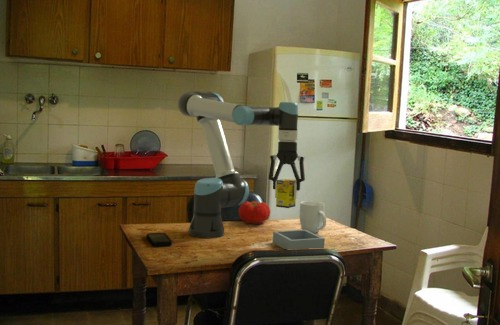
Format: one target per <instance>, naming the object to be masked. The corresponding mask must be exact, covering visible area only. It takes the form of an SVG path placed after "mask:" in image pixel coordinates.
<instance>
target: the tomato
mask: <svg viewBox="0 0 500 325" xmlns="http://www.w3.org/2000/svg"><path fill="white" fill-rule="evenodd" d="M238 215H239V218H240V219H241V220H242V221H243V222H245V223H246V224H255V225H259V224H261V223H263V222H265V221H267V220H268V219H269V217H270V215H271V210H270V206H269V205H268V204H267V203H265V202H264V201H262V202H261V201H260V202H259V201H257V200H253V201H251V202H250V201H248V200H246V201H245V202H244V203H243V204H241V205H239V208H238Z"/></svg>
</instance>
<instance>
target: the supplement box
mask: <svg viewBox="0 0 500 325" xmlns="http://www.w3.org/2000/svg"><path fill="white" fill-rule="evenodd" d="M295 182H296V179H290V178H283V179H277V192H276V198H275V200H276V201H275V207H276V208H284V209H290V208H294V207H296V201H297V199H294V184H295Z"/></svg>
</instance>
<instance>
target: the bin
mask: <svg viewBox="0 0 500 325" xmlns="http://www.w3.org/2000/svg"><path fill="white" fill-rule="evenodd" d="M325 242H326V241H325V237H322V236H320V235H318V234H317V233H312V232H309V231H307V230H302V229H295V230H294V229H293V230H276V231H273V232H272V243H273V244H274V245H277V246H278V247H280V248H282V249H283V250H285V249H309V248H324V249H325Z"/></svg>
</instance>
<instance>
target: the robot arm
mask: <svg viewBox="0 0 500 325" xmlns="http://www.w3.org/2000/svg"><path fill="white" fill-rule="evenodd" d="M298 106H299V105H298V103H297V102H294V101H293V102H292V101H291V102H289V101H281V102H279V105H278V106H277V107H276V106H275V107H274V106H252V105H250V106H249V105H243V104H237V103H233V102H226V101H224V98H223V97H222V96H221V95H220V94H218V93H216V92H212V91H197V90H187V91H185V92H183V93H182V94H181V95H179V98H178V99H177V108H178V111H179V112H180V114H182V115H184V116H185V117H189V118H196V121H197V123H198V125H199V126H201V127H202V130H203V133H204V137H205V140H206V144H207V148H208V152H209V155H210V158H211V162H212V165H213V169H214V174H215V177H205V178H201V179H198V180H197V181H196V182H195V185H194V190H193V193H194V194H193V196H194V197H193V215H192V216H193V217H192V219H191V221H190V224H189V227H188V234H189V235H191V236H192V237H197V238H203V239H205V238H208V239H209V238H210V239H212V238H214V239H215V238H220V237H223V236H224V235H225V226H224V222H223V219H222V209H223V208H230V207H237V206H241V205H242V204H243V203H244V202H246V201H248V197H249V195H250V188H249V184H248V182H247V181H246V180H245V179H243V178H241V176H240V175H241V174H240V172H238V171H236V170H235V166H234V162H233V160H232V157H231V153H230V150H229V146H228V142H227V139H226V136H225V132H224V129H223V126H222V122H221V121H225V122H229V123H234V124H236V125H238V126H244V127H246V126H262V127H263V126H264V127H265V126H269V127H270V126H271V127H272V126H275V127H276V126H278V132H277V133H278V136H277V138H278V142H277V144H278V145H277V152H276V154H271V155H270V156H269V159H270V165H269V166H270V167H269V171H268V180H269V181H272V189H273V190H274V191H275V192H274V198H275V199H276V192H277V180H279V179H278V178H279V176H280V174H281V171H282V168H283V166H284V165H290V167H291V170H292V173H293V176H294V180H296V182H295V184H294V199H296V200H297V199H298V192H299V191H300V190H301V182H304V181H306V176H305V175H306V174H305V165H304V164H305V163H304V162H305V156H303V155H302V156H301V155H298V142H297V141H298V120H299V108H298ZM277 158H278V160H279V163H278V166H277V168H276V171H275V165H276V160H277ZM296 160H297V161H298V162H299V165H298V166H299V172H298V169H297V165H296V163H295V161H296ZM274 172H275V173H274ZM299 173H300V176H299Z"/></svg>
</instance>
